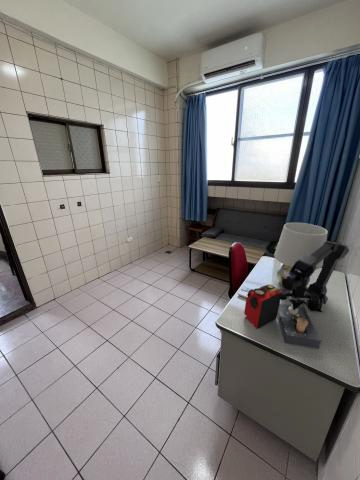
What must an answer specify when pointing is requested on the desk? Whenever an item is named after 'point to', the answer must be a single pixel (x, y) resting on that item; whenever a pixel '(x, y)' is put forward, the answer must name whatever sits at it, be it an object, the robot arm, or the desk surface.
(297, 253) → the table lamp
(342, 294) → the desk surface
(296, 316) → the black and brass dome
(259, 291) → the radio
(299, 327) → the knob
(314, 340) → the panel
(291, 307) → the knob
